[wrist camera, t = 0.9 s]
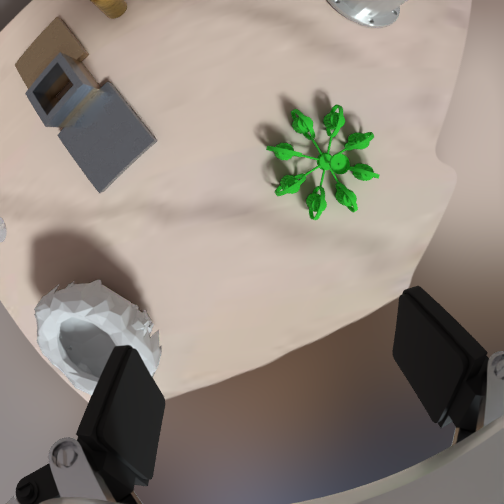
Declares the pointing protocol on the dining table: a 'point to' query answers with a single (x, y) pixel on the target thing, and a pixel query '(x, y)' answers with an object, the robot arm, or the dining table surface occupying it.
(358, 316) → the dining table surface
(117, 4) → the hinge pin
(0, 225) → the wineglass
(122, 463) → the robot arm
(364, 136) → the chandelier
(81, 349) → the bowl
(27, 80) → the hinge
